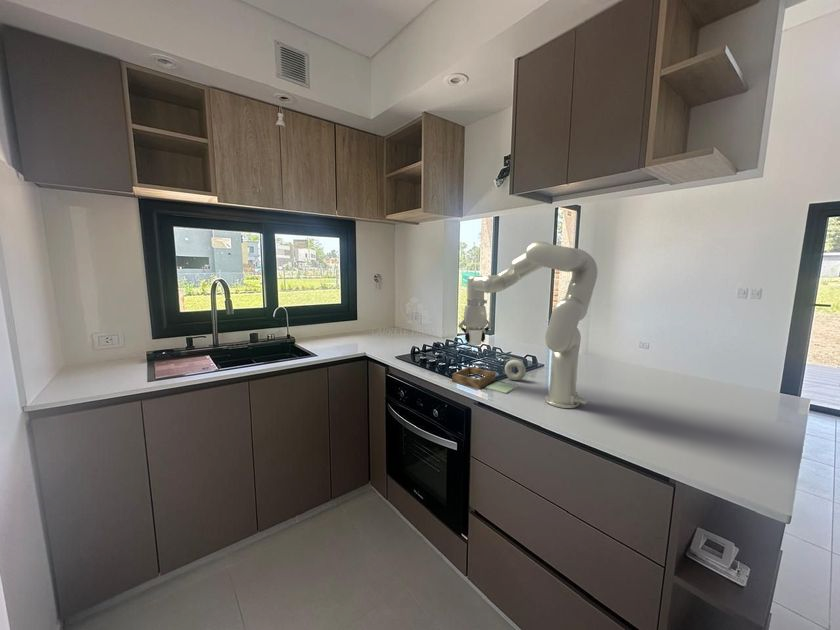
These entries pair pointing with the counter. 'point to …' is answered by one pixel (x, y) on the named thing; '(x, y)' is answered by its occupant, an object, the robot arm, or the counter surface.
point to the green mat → (500, 387)
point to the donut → (511, 374)
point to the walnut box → (472, 382)
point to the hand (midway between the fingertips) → (475, 341)
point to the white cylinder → (475, 336)
